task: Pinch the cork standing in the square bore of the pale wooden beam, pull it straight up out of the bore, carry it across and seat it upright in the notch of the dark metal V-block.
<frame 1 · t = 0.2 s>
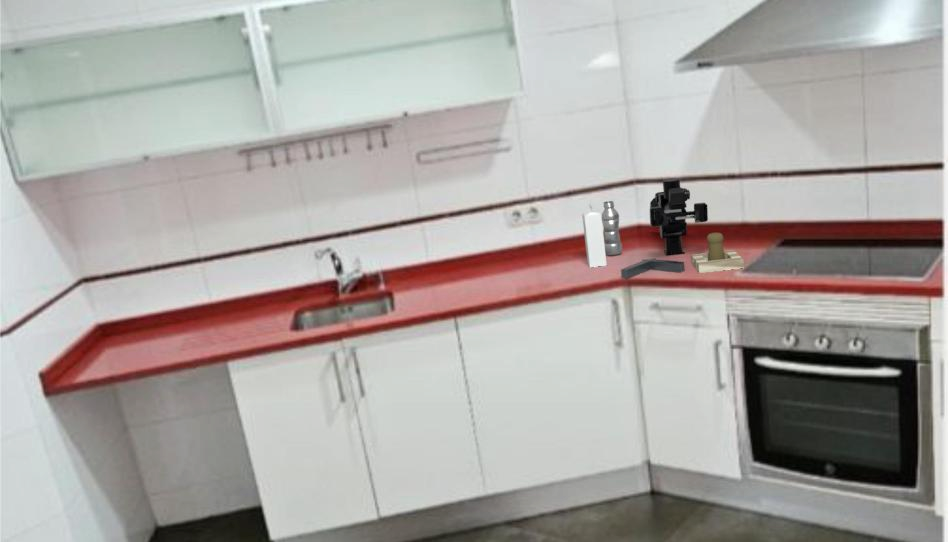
hand: (682, 219, 263), 17 cm above the worktop, tool horizontal, fingers open, 9 cm apart
cork: (717, 266, 266), on the worktop
v-block: (652, 273, 268), on the worktop
bored beam: (717, 265, 266), on the worktop
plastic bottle: (613, 255, 302), on the worktop
milk: (597, 265, 290), on the worktop
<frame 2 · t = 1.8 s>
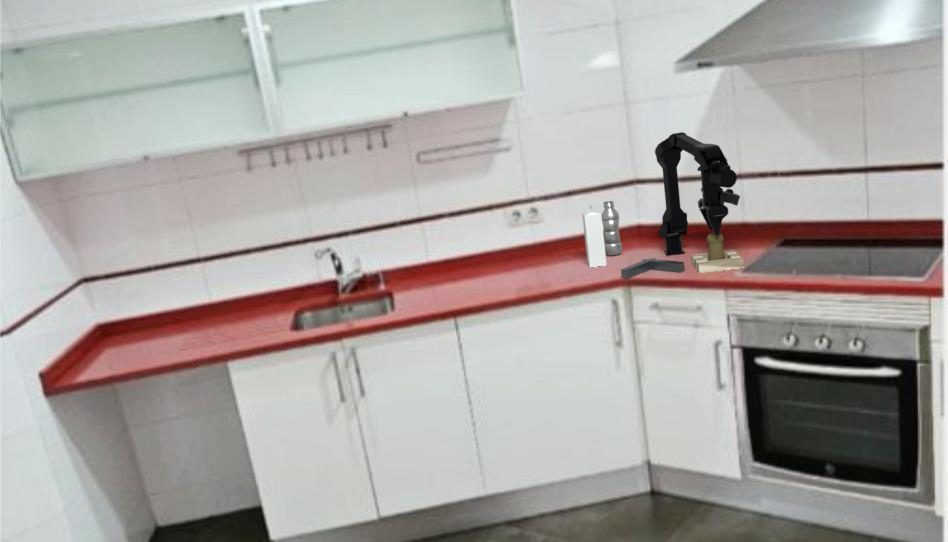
hand: (714, 232, 264), 11 cm above the worktop, tool pointing down, fingers open, 9 cm apart
nothing on the worktop moved.
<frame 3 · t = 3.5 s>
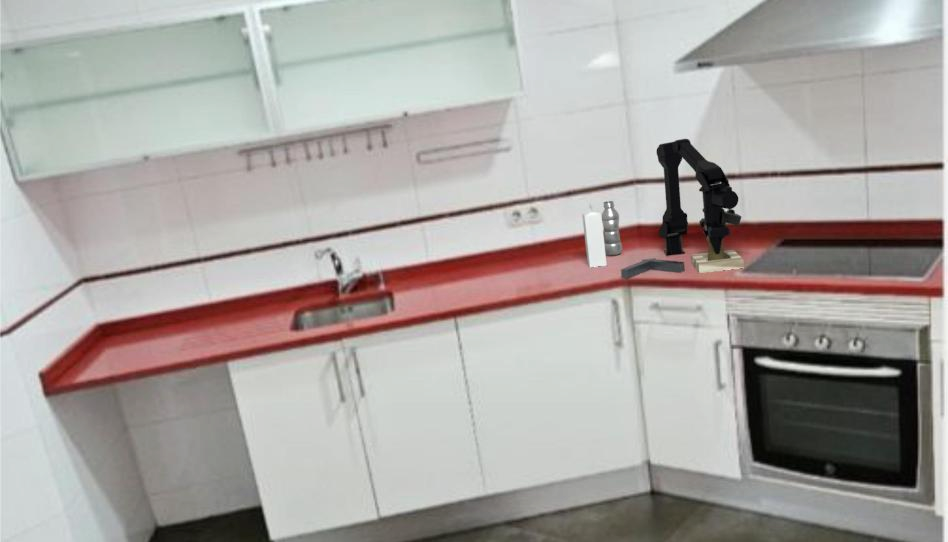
hand: (716, 252, 265), 5 cm above the worktop, tool pointing down, fingers closed on cork, 4 cm apart
cork: (717, 266, 266), on the worktop, touching gripper
everything else where it was.
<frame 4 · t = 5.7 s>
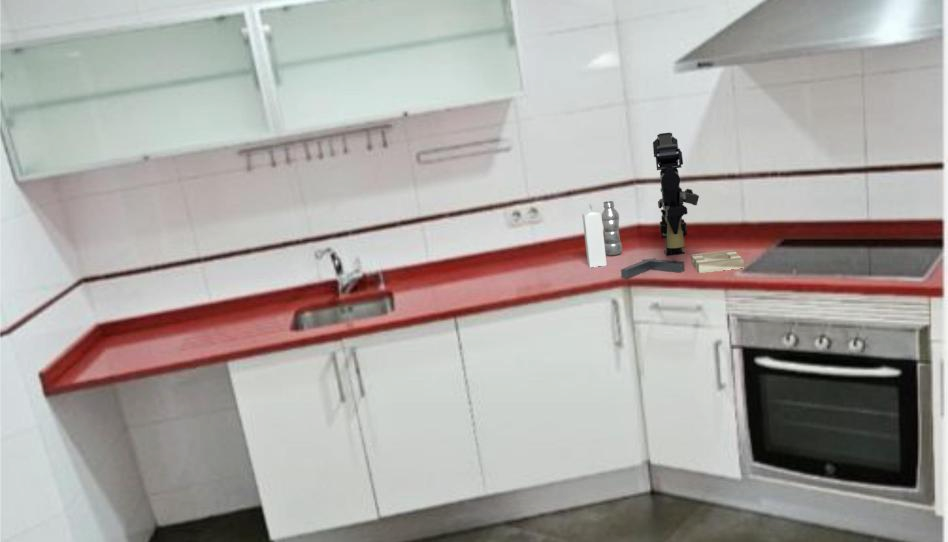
hand: (674, 232, 264), 13 cm above the worktop, tool pointing down, fingers closed on cork, 4 cm apart
cork: (675, 246, 265), point 8 cm above the worktop, touching gripper
everything else where it was.
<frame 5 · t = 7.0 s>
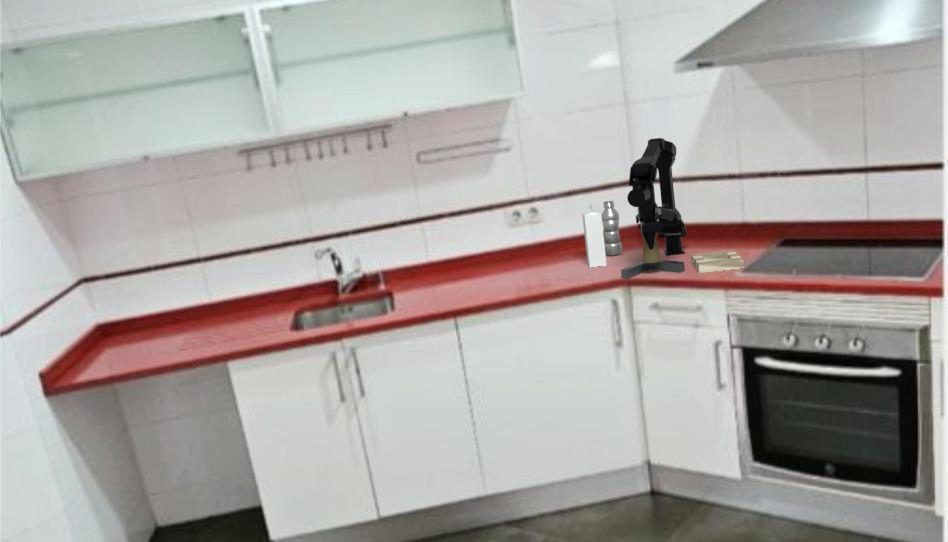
hand: (650, 247, 266), 9 cm above the worktop, tool pointing down, fingers closed on cork, 4 cm apart
cork: (651, 261, 267), point 4 cm above the worktop, touching gripper
everything else where it was.
when the fingers open (6 cm above the worktop, at t = 8.2 s): cork drops 2 cm, on the worktop.
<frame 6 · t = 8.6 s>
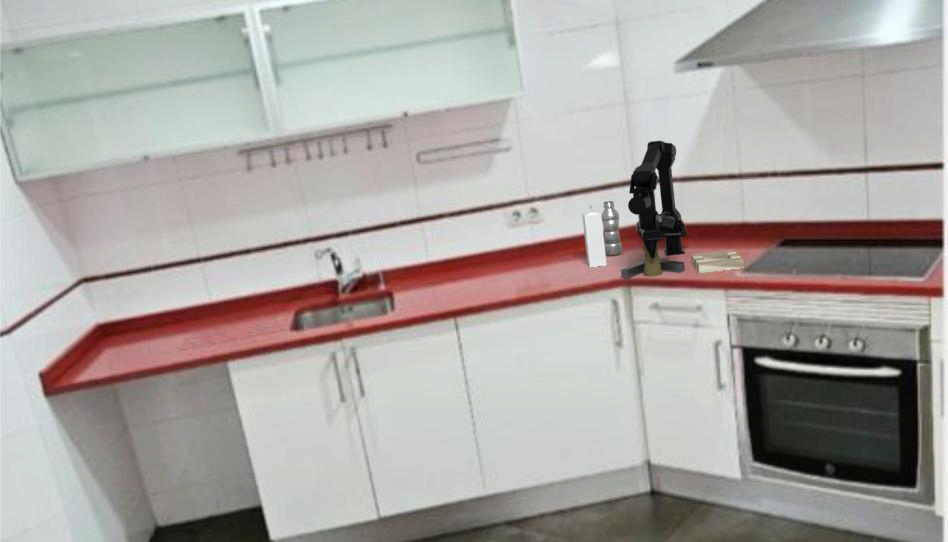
hand: (651, 254, 266), 6 cm above the worktop, tool pointing down, fingers open, 9 cm apart
cork: (653, 274, 268), on the worktop
everything else where it was.
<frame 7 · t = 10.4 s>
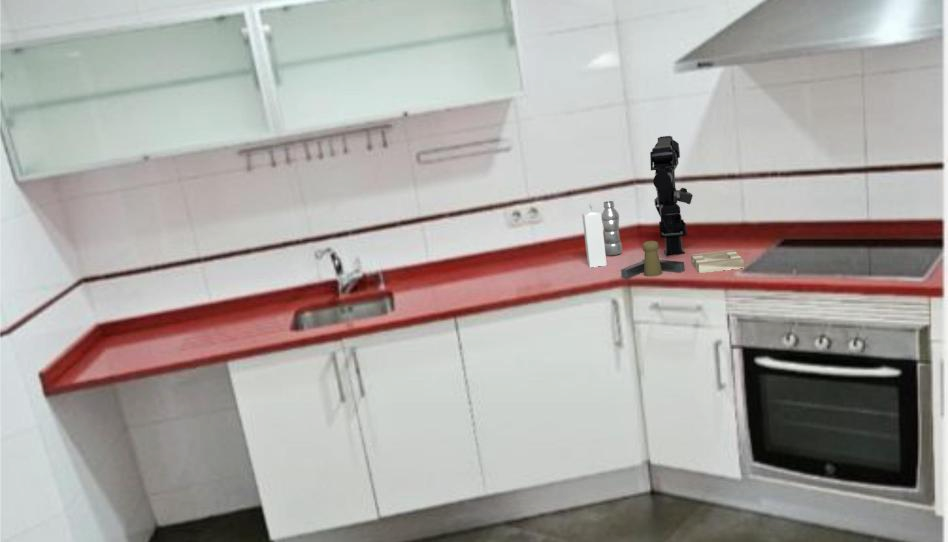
hand: (669, 229, 275), 12 cm above the worktop, tool pointing down, fingers open, 9 cm apart
nothing on the worktop moved.
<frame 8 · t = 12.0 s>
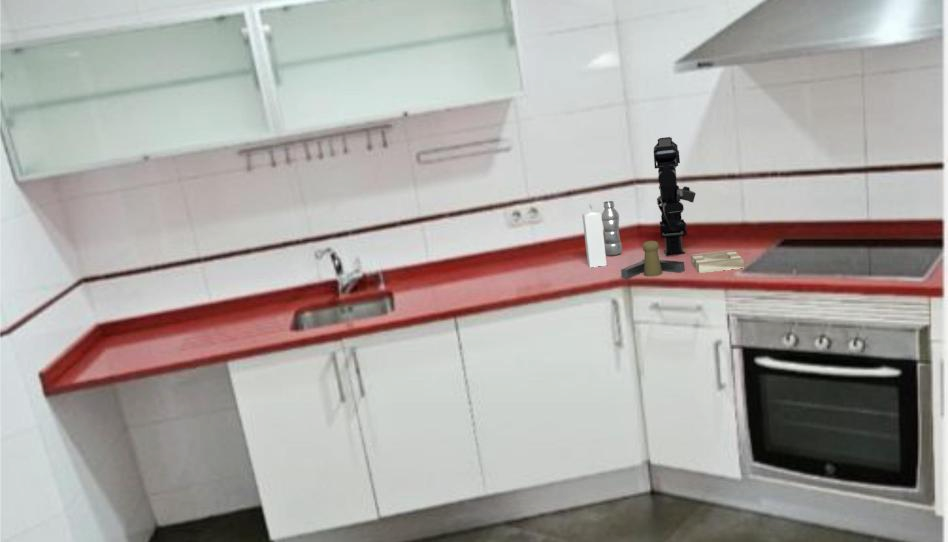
hand: (671, 228, 276), 12 cm above the worktop, tool pointing down, fingers open, 9 cm apart
nothing on the worktop moved.
at the end: cork 0.2 cm off-centre on the v-block, point 0.0 cm above the v-block's base; cork tilted 0°; the gripper is holding nothing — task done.
